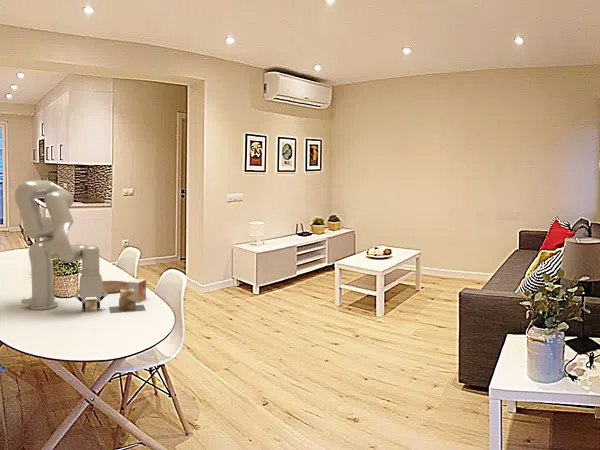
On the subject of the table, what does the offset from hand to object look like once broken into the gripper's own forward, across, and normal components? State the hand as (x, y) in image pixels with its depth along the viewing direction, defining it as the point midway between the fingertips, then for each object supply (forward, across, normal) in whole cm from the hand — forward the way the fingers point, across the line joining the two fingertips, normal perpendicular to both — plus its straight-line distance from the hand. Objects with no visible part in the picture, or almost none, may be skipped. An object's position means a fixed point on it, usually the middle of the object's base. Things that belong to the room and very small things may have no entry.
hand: (91, 309), depth 248 cm
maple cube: (+1, 0, 0) cm, 1 cm away
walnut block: (0, +16, -2) cm, 16 cm away
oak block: (-4, +16, -2) cm, 17 cm away
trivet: (+1, +9, +43) cm, 44 cm away
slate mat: (0, +16, -2) cm, 16 cm away
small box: (+1, +22, +13) cm, 26 cm away
